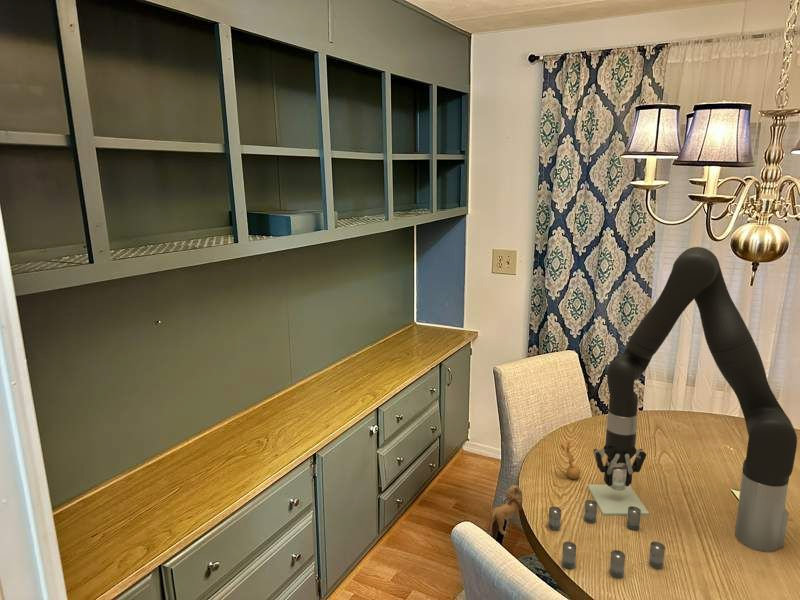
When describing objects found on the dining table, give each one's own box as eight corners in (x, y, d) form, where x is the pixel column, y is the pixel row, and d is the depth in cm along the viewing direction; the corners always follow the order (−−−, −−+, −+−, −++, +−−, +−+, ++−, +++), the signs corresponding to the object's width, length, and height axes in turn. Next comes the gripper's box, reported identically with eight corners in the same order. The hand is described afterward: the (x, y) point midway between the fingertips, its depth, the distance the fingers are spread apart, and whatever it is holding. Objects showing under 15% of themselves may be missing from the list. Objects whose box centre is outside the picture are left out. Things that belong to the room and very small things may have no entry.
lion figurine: (508, 509, 149) (509, 479, 147) (526, 516, 146) (527, 486, 144) (481, 537, 138) (481, 505, 136) (500, 545, 135) (501, 513, 133)
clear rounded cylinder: (622, 481, 153) (623, 462, 152) (628, 490, 149) (629, 470, 148) (606, 481, 153) (607, 462, 152) (611, 490, 149) (613, 470, 148)
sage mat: (629, 486, 159) (629, 484, 158) (648, 515, 145) (649, 513, 145) (587, 486, 159) (587, 484, 159) (603, 515, 145) (603, 513, 145)
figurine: (581, 485, 159) (583, 448, 157) (560, 483, 161) (561, 446, 158) (578, 471, 167) (580, 435, 165) (558, 469, 169) (559, 433, 166)
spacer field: (632, 516, 145) (633, 499, 144) (671, 578, 122) (673, 559, 121) (544, 516, 146) (545, 499, 145) (567, 578, 123) (568, 558, 122)
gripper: (642, 421, 151) (638, 477, 154) (590, 421, 151) (587, 477, 155) (654, 433, 143) (649, 492, 147) (599, 434, 144) (595, 492, 148)
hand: (617, 484), depth 151 cm, fingers closed on clear rounded cylinder, 4 cm apart
